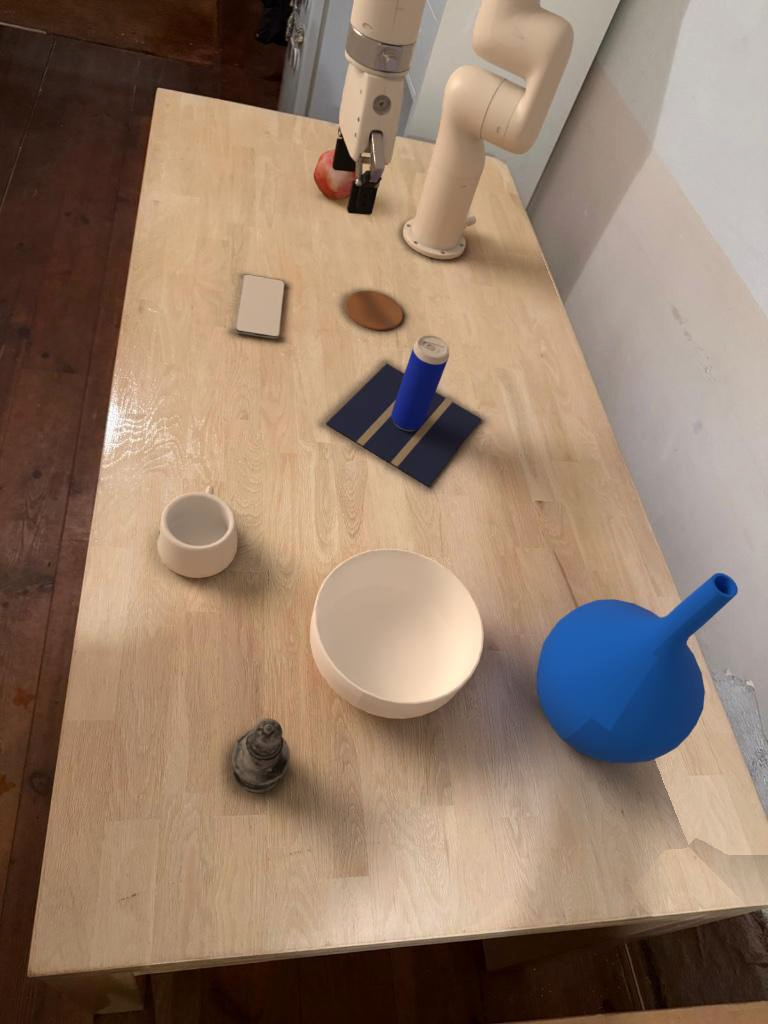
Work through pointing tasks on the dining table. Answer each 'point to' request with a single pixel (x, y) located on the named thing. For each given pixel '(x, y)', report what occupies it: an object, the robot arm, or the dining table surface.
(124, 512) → the dining table surface
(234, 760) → the dark stone chess piece
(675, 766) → the dining table surface
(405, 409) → the beverage can
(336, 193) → the fruit
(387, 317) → the coaster
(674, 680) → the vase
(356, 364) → the dining table surface
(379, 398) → the plate
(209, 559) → the mug
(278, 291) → the smartphone
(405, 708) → the bowl
